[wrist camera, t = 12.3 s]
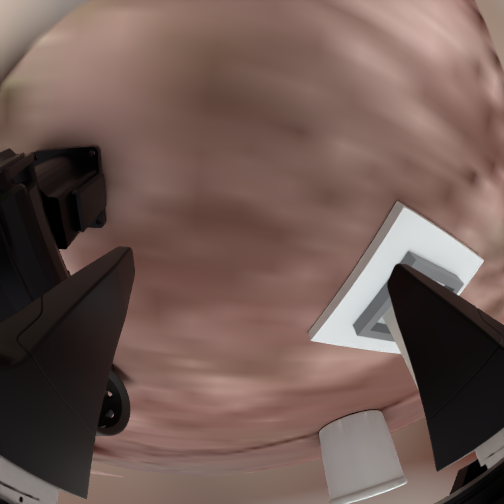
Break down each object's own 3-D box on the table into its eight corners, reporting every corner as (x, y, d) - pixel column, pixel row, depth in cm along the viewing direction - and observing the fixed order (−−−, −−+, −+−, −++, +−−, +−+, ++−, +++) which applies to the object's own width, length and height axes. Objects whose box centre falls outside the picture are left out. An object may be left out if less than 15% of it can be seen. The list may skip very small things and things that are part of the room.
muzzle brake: (138, 381, 33) (127, 449, 24) (45, 398, 38) (32, 441, 29) (87, 338, 28) (61, 413, 19) (9, 369, 33) (-9, 413, 24)
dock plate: (308, 332, 29) (313, 351, 26) (397, 200, 21) (413, 214, 19) (403, 347, 33) (411, 362, 31) (478, 254, 25) (491, 267, 23)
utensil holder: (377, 426, 51) (395, 489, 36) (314, 443, 51) (327, 509, 37) (391, 399, 43) (418, 477, 28) (315, 421, 43) (333, 506, 29)
